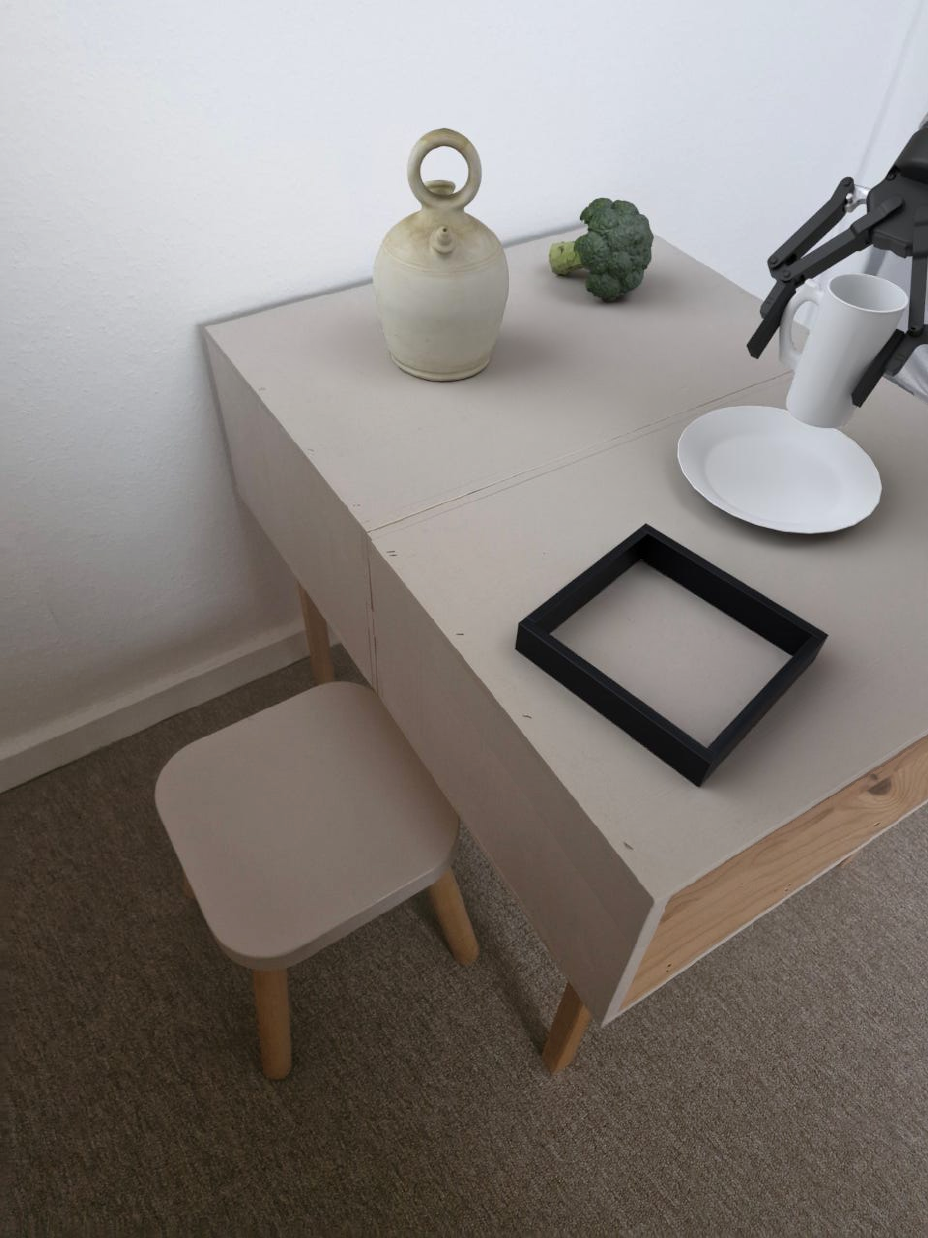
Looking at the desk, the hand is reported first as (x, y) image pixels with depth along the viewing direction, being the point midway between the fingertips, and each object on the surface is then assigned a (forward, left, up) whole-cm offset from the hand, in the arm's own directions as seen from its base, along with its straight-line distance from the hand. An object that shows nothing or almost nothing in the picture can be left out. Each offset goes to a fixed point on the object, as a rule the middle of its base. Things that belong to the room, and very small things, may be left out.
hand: (802, 376), depth 78 cm
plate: (0, -3, -14) cm, 15 cm away
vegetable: (+39, -22, -14) cm, 47 cm away
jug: (+41, +6, -14) cm, 44 cm away
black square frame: (-6, +25, -14) cm, 29 cm away
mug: (0, -3, -4) cm, 5 cm away
